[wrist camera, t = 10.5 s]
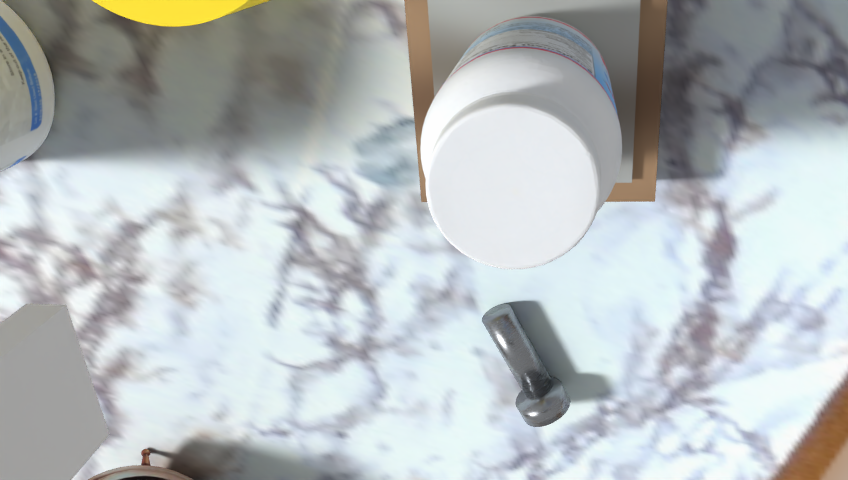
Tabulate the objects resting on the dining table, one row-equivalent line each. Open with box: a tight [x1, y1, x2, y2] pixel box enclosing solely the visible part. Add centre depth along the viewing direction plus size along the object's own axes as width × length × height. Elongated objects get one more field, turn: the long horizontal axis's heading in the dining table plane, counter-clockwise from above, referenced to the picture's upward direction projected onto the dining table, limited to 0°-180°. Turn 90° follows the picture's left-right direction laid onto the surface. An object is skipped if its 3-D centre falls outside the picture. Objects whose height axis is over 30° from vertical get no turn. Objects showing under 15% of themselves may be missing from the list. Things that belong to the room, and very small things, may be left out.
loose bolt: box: [482, 304, 570, 427], centre depth 36 cm, size 6×3×3 cm, turn 29°
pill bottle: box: [420, 16, 622, 269], centre depth 24 cm, size 6×6×11 cm
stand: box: [404, 0, 667, 202], centre depth 30 cm, size 10×10×3 cm
